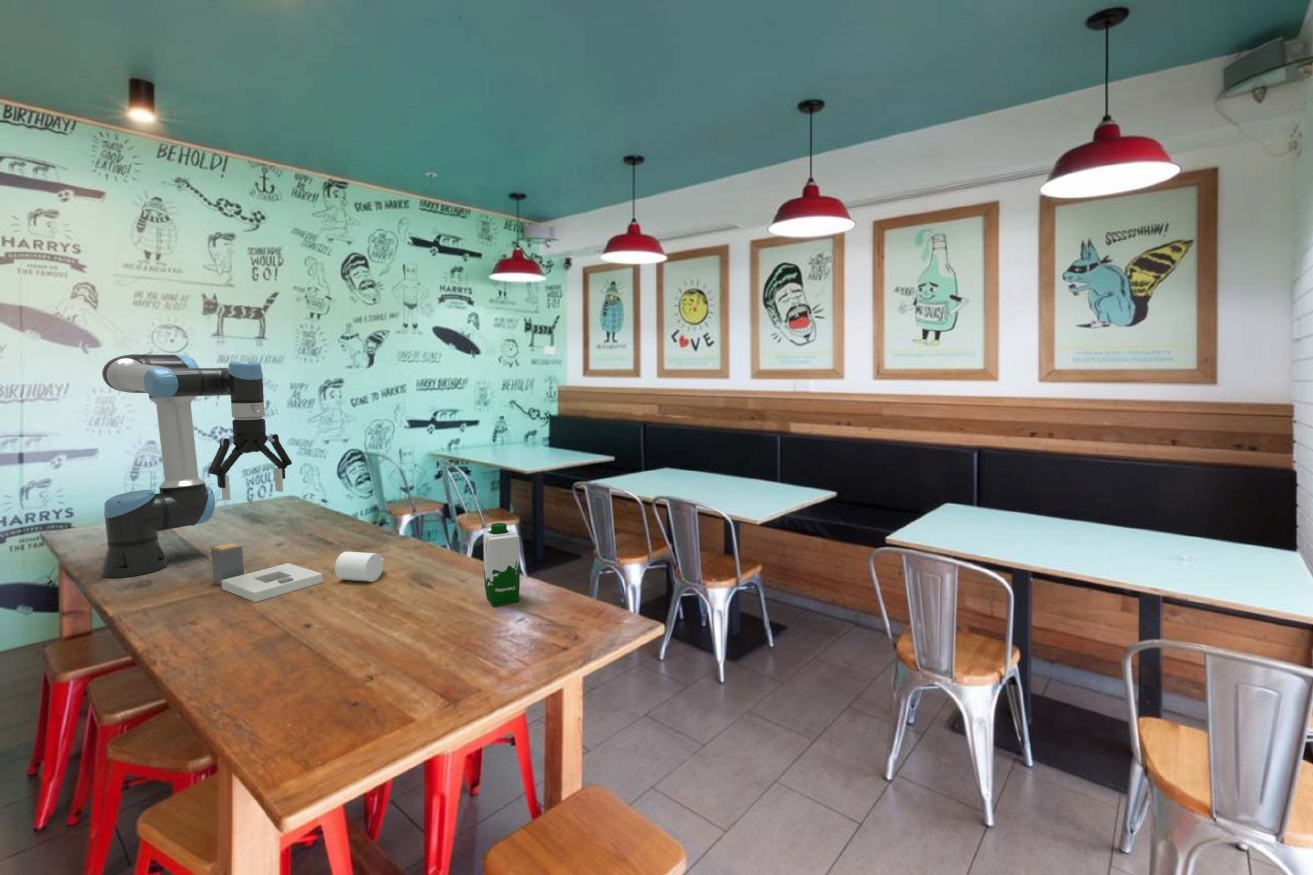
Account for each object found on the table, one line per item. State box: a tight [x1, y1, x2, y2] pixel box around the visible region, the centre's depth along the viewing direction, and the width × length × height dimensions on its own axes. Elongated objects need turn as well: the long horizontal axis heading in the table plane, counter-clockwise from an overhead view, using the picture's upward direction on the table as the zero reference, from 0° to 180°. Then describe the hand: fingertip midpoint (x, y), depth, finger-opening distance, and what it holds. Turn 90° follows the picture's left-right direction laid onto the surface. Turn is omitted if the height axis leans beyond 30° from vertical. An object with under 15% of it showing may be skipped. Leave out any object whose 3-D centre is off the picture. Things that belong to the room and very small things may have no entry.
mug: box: [334, 551, 385, 583], centre depth 183 cm, size 12×10×8 cm
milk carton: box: [483, 522, 521, 608], centre depth 164 cm, size 9×9×20 cm
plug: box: [210, 542, 245, 587], centre depth 178 cm, size 6×6×10 cm
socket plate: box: [221, 562, 323, 603], centre depth 176 cm, size 18×18×3 cm
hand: (253, 495), depth 172 cm, fingers open, 13 cm apart
